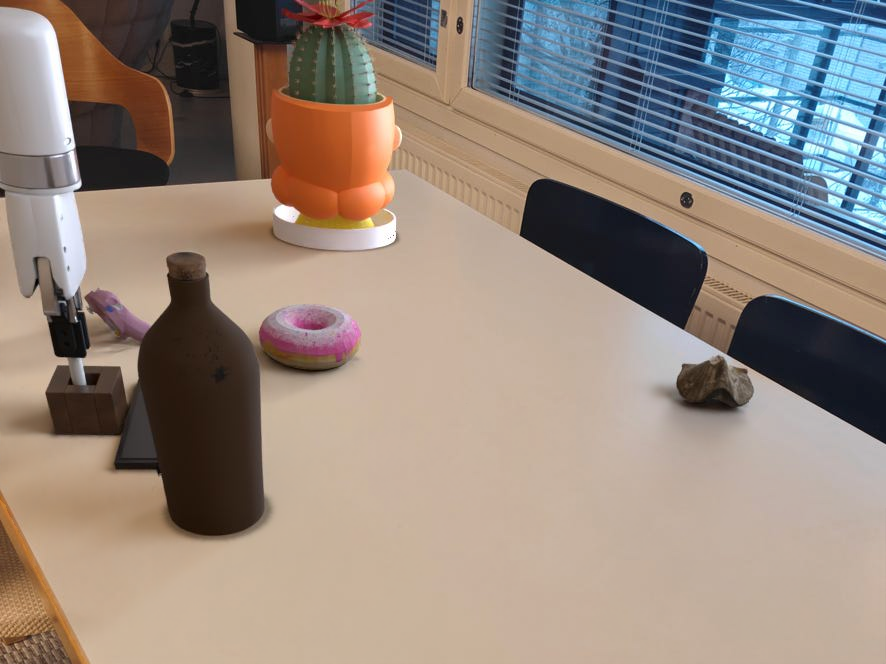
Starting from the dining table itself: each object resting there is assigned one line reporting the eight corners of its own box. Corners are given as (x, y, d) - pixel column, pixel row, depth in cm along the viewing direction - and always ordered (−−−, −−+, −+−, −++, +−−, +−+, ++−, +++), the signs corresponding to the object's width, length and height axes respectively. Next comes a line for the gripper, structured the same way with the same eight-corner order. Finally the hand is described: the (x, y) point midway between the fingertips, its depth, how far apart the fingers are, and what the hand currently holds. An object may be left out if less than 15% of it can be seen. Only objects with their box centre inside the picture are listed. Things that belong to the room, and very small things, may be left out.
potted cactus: (271, 216, 162) (257, -21, 139) (393, 221, 166) (399, -9, 143) (273, 257, 146) (256, -2, 123) (407, 261, 151) (416, 11, 128)
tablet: (115, 469, 95) (113, 461, 94) (139, 385, 109) (138, 377, 109) (222, 469, 97) (221, 461, 96) (231, 386, 111) (231, 378, 111)
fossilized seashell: (756, 377, 122) (682, 373, 124) (759, 345, 116) (681, 341, 118) (748, 423, 119) (673, 418, 122) (751, 394, 113) (672, 389, 116)
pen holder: (55, 434, 99) (44, 392, 96) (66, 405, 104) (57, 364, 101) (119, 434, 100) (111, 393, 97) (128, 406, 105) (120, 366, 102)
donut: (291, 326, 126) (290, 291, 123) (377, 346, 124) (378, 311, 121) (242, 361, 117) (238, 324, 113) (334, 384, 114) (333, 346, 111)
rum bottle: (291, 501, 93) (275, 254, 77) (229, 552, 85) (198, 291, 69) (206, 473, 96) (174, 228, 79) (139, 520, 88) (89, 261, 72)
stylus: (76, 409, 100) (54, 303, 92) (78, 403, 101) (57, 298, 93) (89, 409, 101) (69, 304, 93) (91, 403, 102) (71, 299, 94)
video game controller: (103, 333, 123) (70, 291, 117) (128, 312, 124) (98, 270, 118) (136, 359, 118) (103, 317, 112) (162, 338, 118) (132, 295, 113)
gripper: (13, 142, 90) (50, 321, 102) (-29, 188, 78) (19, 383, 90) (92, 149, 91) (120, 324, 103) (63, 194, 80) (98, 386, 92)
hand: (73, 351), depth 97 cm, fingers closed on stylus, 1 cm apart
